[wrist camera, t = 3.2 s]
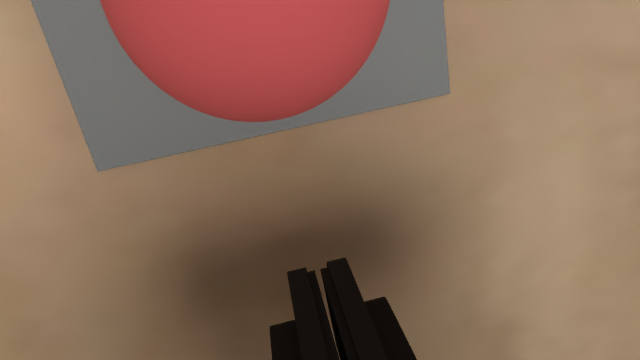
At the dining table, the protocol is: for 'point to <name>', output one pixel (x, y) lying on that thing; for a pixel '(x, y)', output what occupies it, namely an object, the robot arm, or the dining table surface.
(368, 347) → the robot arm
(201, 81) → the ball
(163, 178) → the dining table surface
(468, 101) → the dining table surface
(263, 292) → the dining table surface
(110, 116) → the grey flat plate
